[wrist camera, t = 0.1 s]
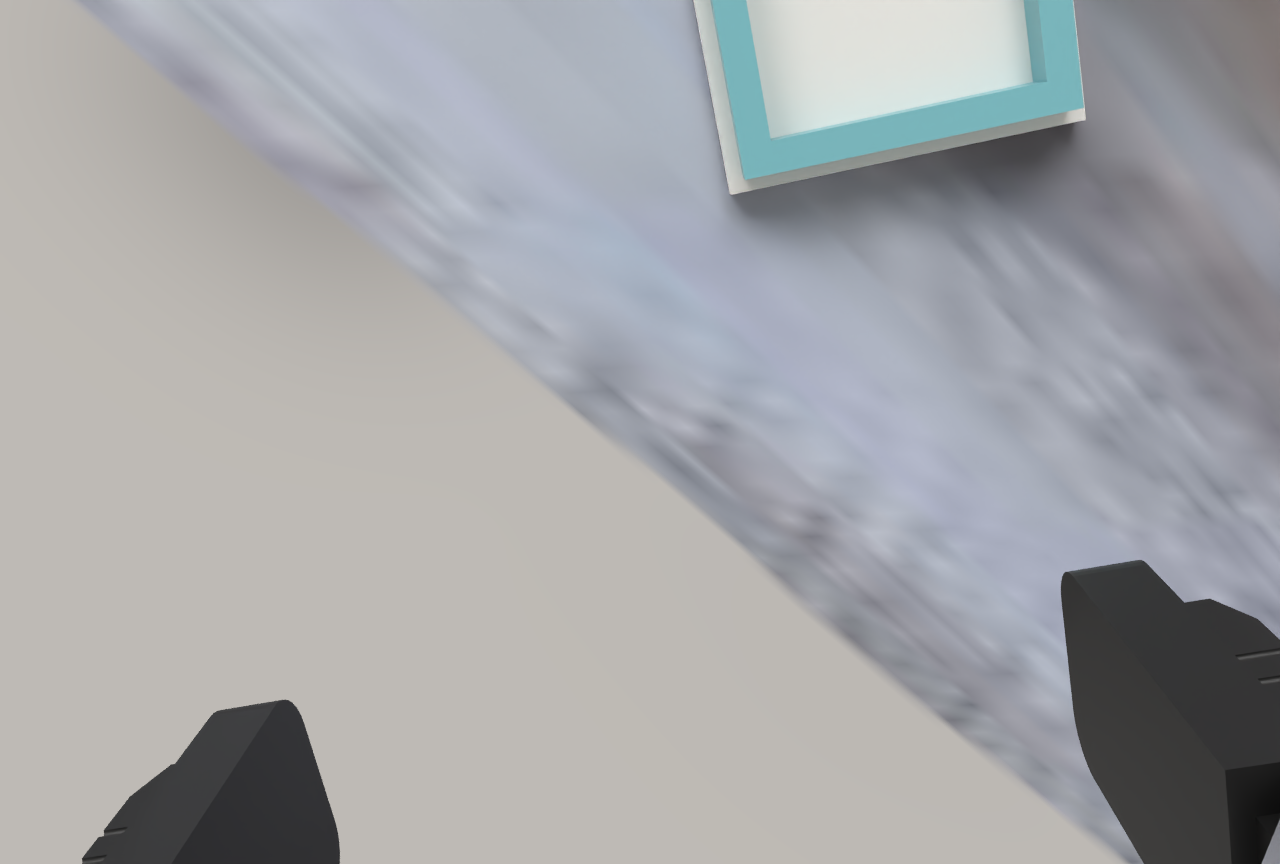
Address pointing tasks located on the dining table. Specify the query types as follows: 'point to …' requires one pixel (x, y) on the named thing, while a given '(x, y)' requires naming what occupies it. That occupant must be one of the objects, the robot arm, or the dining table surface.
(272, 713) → the robot arm
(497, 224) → the dining table surface
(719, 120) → the socket board
